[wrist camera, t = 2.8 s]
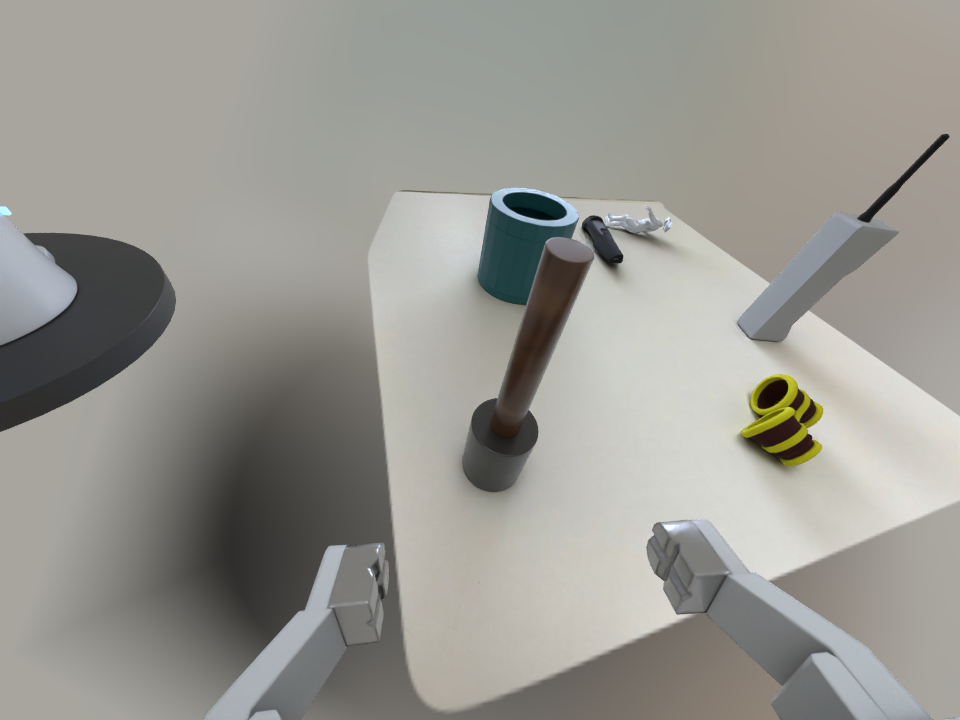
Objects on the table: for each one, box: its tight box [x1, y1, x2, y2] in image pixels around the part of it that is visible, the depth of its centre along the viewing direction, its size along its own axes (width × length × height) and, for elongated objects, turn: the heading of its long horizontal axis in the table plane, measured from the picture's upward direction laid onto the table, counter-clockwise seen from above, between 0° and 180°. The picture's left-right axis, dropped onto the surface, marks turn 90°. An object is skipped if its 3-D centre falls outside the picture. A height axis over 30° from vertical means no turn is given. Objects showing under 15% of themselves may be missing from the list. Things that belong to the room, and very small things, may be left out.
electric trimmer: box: [582, 216, 623, 263], centre depth 60 cm, size 4×16×3 cm, turn 2°
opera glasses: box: [741, 374, 823, 466], centre depth 35 cm, size 10×5×5 cm, turn 140°
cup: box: [478, 188, 579, 304], centre depth 45 cm, size 11×11×11 cm
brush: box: [462, 237, 594, 492], centre depth 22 cm, size 5×5×20 cm
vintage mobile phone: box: [737, 134, 949, 342], centre depth 41 cm, size 4×5×25 cm
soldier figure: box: [605, 205, 672, 234], centre depth 67 cm, size 8×5×12 cm
